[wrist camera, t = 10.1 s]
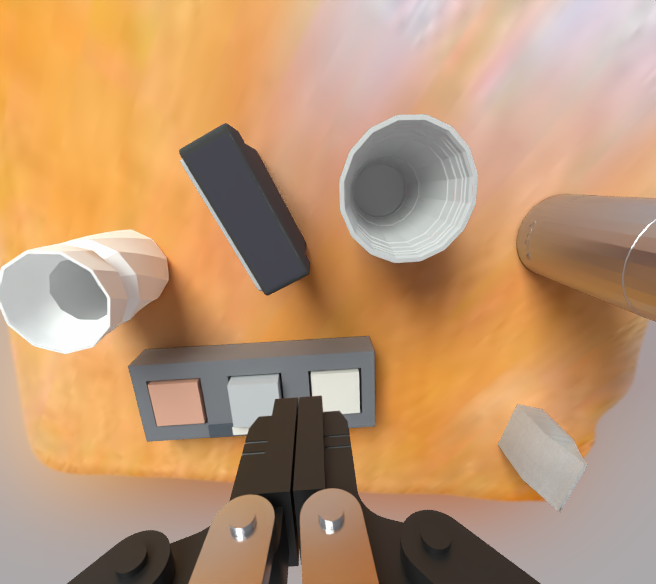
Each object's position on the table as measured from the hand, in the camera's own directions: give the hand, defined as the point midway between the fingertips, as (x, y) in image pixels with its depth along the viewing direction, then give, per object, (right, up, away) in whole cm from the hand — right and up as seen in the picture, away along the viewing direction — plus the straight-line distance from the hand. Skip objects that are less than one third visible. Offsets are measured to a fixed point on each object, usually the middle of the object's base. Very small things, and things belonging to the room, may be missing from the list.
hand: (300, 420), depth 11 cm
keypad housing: (-7, -7, +32) cm, 34 cm away
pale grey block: (+27, -14, +36) cm, 47 cm away
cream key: (+2, -7, +31) cm, 32 cm away
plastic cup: (+7, +15, +26) cm, 31 cm away
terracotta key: (-16, -8, +31) cm, 36 cm away
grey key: (-7, -7, +30) cm, 32 cm away
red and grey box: (-5, +14, +26) cm, 30 cm away
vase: (-21, +7, +28) cm, 35 cm away
